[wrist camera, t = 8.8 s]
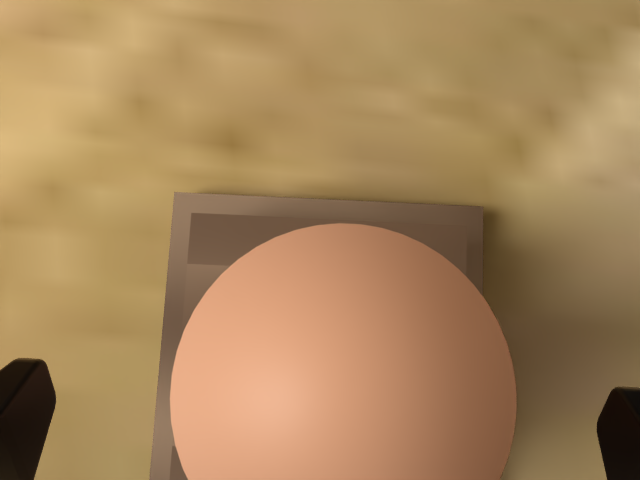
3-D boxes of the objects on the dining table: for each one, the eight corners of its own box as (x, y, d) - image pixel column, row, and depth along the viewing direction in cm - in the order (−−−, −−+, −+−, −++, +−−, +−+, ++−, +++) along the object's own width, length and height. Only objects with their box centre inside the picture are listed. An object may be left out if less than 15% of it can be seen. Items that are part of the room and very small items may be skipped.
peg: (401, 355, 19) (587, 387, 6) (323, 440, 19) (351, 662, 6) (320, 277, 19) (336, 157, 7) (242, 359, 19) (96, 399, 6)
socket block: (473, 525, 19) (514, 573, 15) (154, 510, 19) (113, 554, 15) (475, 212, 21) (512, 183, 17) (181, 199, 21) (150, 166, 17)
